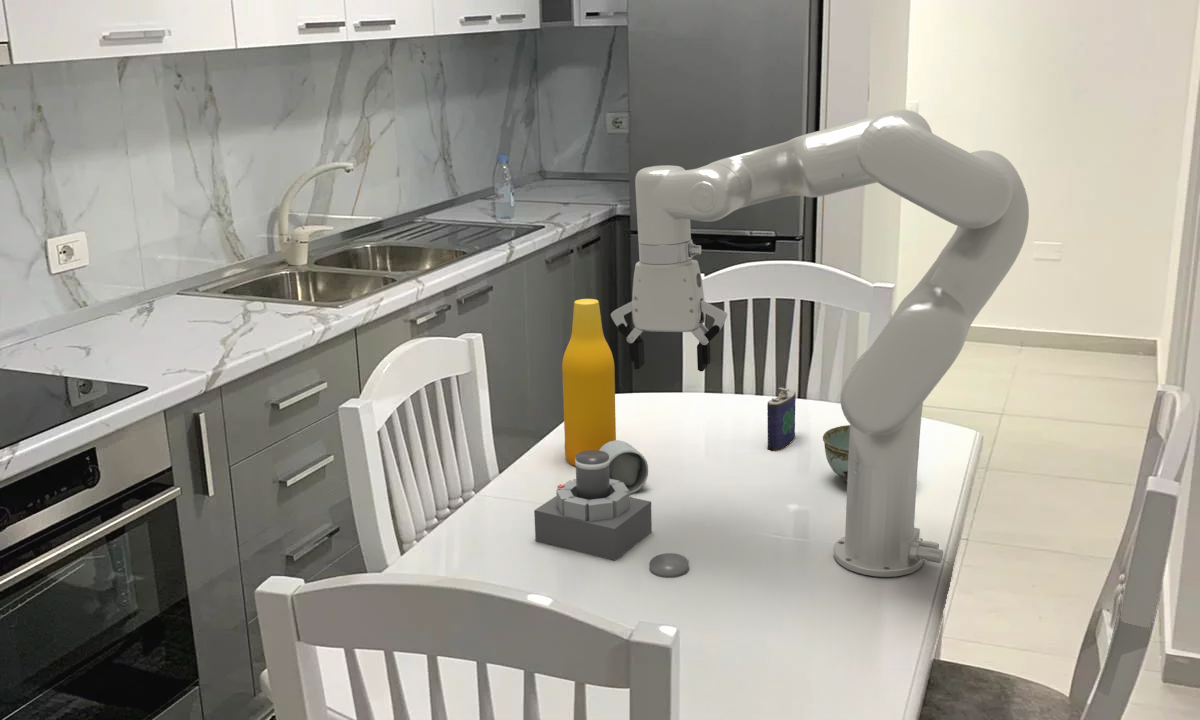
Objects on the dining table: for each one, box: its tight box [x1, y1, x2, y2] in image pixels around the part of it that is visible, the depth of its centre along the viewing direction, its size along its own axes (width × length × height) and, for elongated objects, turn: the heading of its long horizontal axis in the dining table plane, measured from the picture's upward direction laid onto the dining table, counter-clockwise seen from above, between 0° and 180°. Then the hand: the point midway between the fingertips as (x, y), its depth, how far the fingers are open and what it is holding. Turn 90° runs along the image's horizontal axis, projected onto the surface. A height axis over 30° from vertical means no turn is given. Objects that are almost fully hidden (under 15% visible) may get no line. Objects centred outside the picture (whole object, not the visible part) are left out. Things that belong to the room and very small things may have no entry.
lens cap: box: [648, 552, 690, 579], centre depth 164 cm, size 6×6×1 cm
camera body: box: [533, 478, 653, 561], centre depth 174 cm, size 14×11×8 cm
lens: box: [575, 450, 610, 500], centre depth 173 cm, size 5×5×8 cm
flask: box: [766, 387, 797, 452], centre depth 209 cm, size 9×3×11 cm, turn 147°
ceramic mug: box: [599, 439, 649, 495], centre depth 192 cm, size 11×8×8 cm
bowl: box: [822, 424, 850, 486], centre depth 191 cm, size 14×13×8 cm
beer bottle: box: [561, 298, 617, 467], centre depth 202 cm, size 9×9×29 cm
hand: (670, 367), depth 170 cm, fingers open, 9 cm apart
